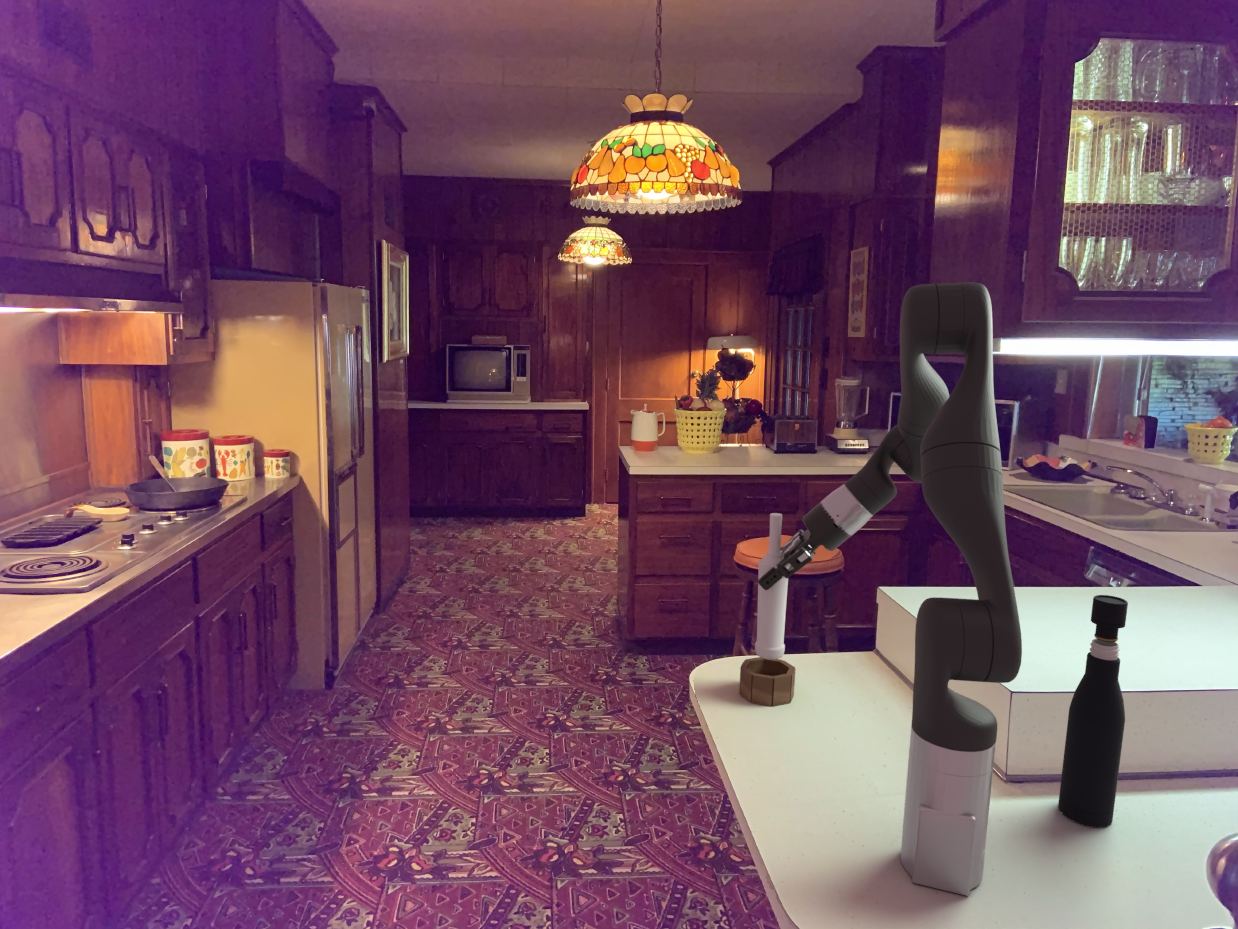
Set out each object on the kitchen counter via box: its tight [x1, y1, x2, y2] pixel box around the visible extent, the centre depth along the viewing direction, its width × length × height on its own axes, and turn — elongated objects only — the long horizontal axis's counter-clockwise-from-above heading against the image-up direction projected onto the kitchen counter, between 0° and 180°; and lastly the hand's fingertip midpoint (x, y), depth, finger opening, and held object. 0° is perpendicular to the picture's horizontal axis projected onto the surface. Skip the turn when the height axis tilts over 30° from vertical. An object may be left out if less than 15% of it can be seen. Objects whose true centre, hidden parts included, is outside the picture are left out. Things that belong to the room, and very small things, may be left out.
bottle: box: [754, 512, 790, 659], centre depth 144 cm, size 5×5×25 cm
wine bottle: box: [1057, 594, 1129, 828], centre depth 110 cm, size 6×6×30 cm
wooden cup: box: [738, 656, 796, 707], centre depth 147 cm, size 9×9×5 cm
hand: (762, 580), depth 145 cm, fingers closed on bottle, 5 cm apart
